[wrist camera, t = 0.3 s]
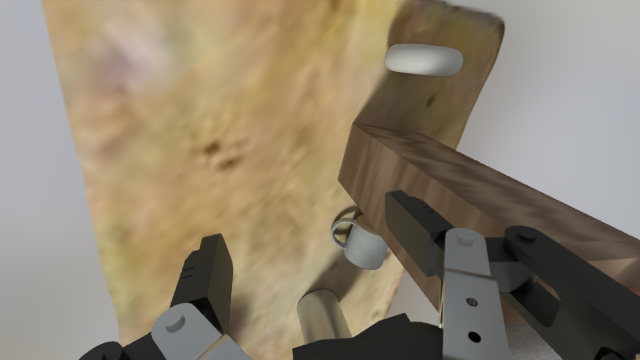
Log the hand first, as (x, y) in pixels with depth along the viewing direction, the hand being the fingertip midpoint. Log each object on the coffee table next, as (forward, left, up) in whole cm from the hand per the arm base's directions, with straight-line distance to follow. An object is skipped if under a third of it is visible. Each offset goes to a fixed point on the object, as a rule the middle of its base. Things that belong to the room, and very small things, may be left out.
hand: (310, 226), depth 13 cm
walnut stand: (-14, -17, -28) cm, 36 cm away
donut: (+1, -22, -28) cm, 36 cm away
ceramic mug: (-28, -10, -28) cm, 41 cm away
